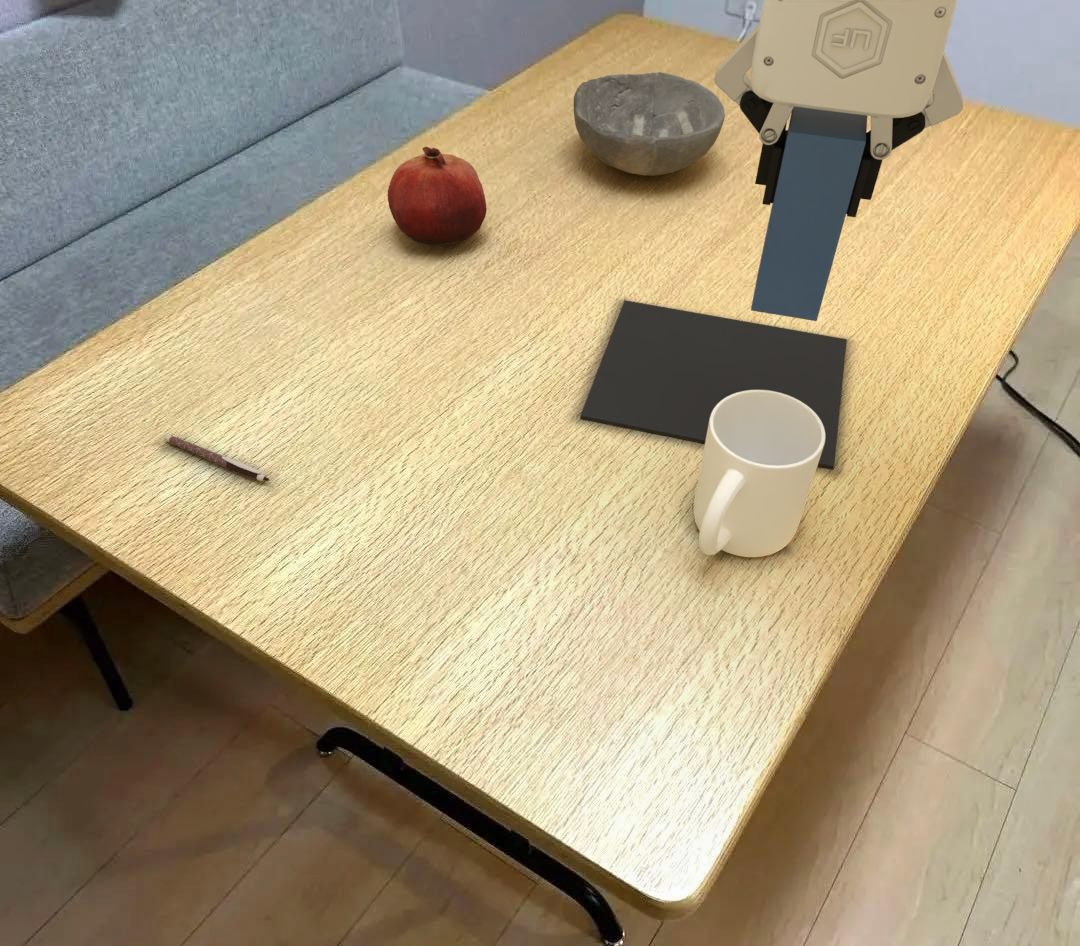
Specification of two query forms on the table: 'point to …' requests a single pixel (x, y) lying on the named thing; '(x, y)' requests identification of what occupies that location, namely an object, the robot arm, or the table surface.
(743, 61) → the robot arm
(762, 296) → the block
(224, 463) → the pen
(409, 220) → the fruit
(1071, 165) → the table surface
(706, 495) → the mug
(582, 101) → the bowl
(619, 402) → the mat
